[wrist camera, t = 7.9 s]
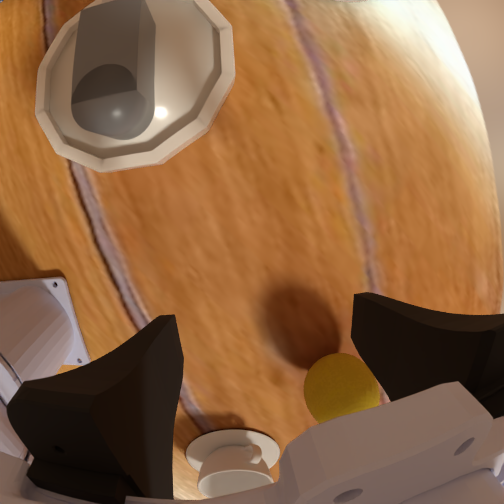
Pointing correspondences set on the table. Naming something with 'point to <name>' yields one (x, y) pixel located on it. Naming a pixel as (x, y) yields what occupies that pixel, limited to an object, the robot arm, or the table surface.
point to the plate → (165, 83)
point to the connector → (114, 69)
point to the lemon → (339, 387)
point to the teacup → (232, 461)
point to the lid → (351, 0)
